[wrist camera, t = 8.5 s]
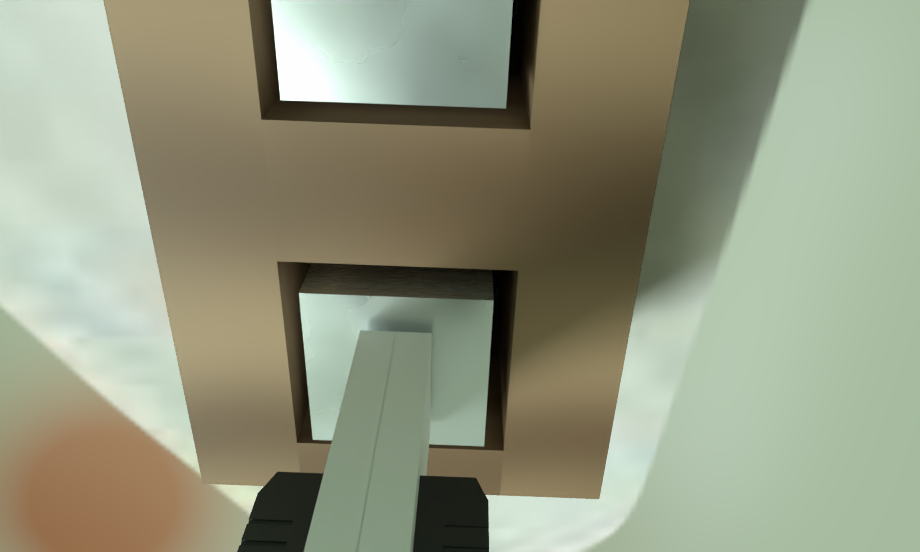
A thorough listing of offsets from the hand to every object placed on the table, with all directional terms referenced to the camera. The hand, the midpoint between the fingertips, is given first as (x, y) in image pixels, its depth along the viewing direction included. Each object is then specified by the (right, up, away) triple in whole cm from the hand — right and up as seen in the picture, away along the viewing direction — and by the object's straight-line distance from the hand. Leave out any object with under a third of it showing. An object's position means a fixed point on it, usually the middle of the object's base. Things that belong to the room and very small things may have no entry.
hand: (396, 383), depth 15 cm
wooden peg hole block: (0, +7, +5) cm, 9 cm away
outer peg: (0, +3, +6) cm, 6 cm away
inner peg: (0, +10, +2) cm, 10 cm away
